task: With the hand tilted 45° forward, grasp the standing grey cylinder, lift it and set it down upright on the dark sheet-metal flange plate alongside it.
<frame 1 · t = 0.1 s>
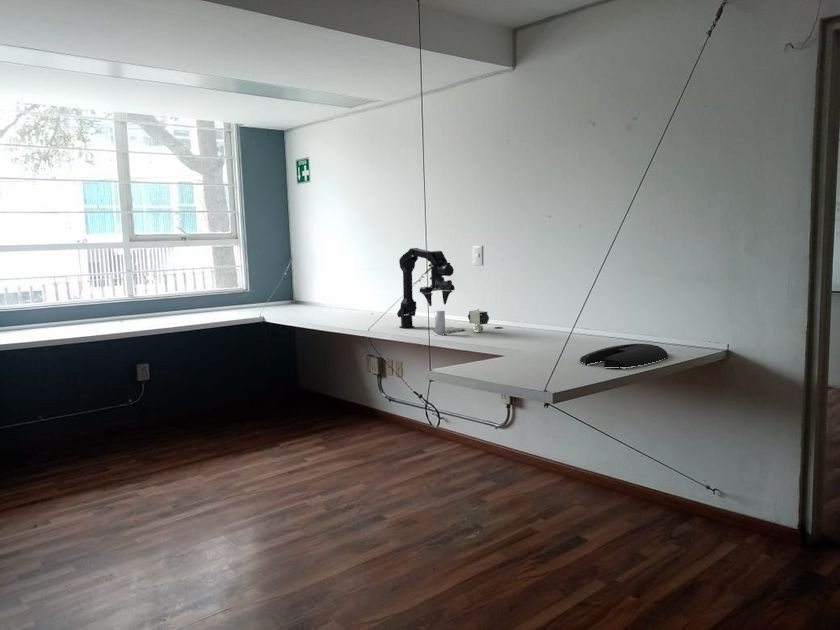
hand: (437, 305, 354), 14 cm above the counter, tool pointing down, fingers open, 9 cm apart
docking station: (627, 360, 271), on the counter
flange plate: (449, 330, 360), on the counter
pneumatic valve: (479, 332, 352), on the counter
grey cylinder: (440, 334, 349), on the counter
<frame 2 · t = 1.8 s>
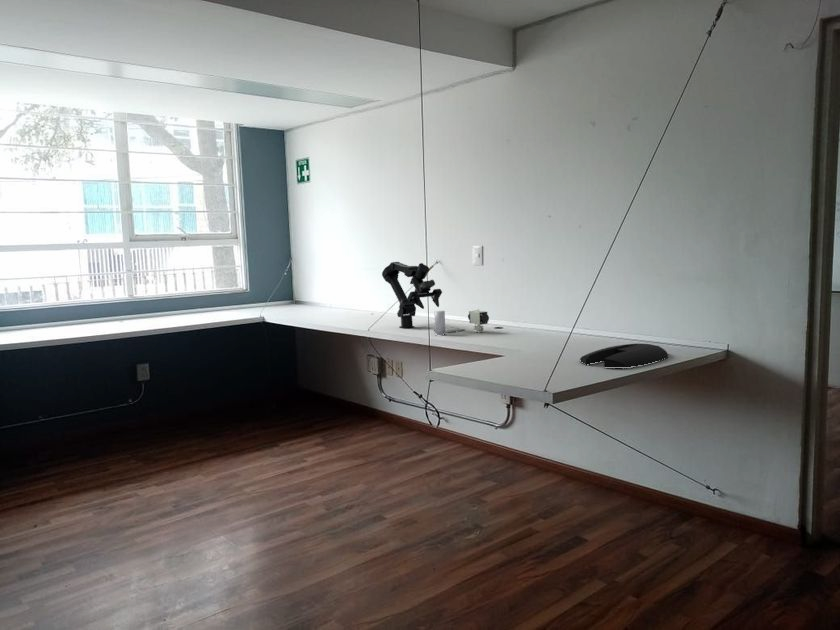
hand: (431, 307, 354), 13 cm above the counter, tool tilted 45°, fingers open, 9 cm apart
nothing on the counter moved.
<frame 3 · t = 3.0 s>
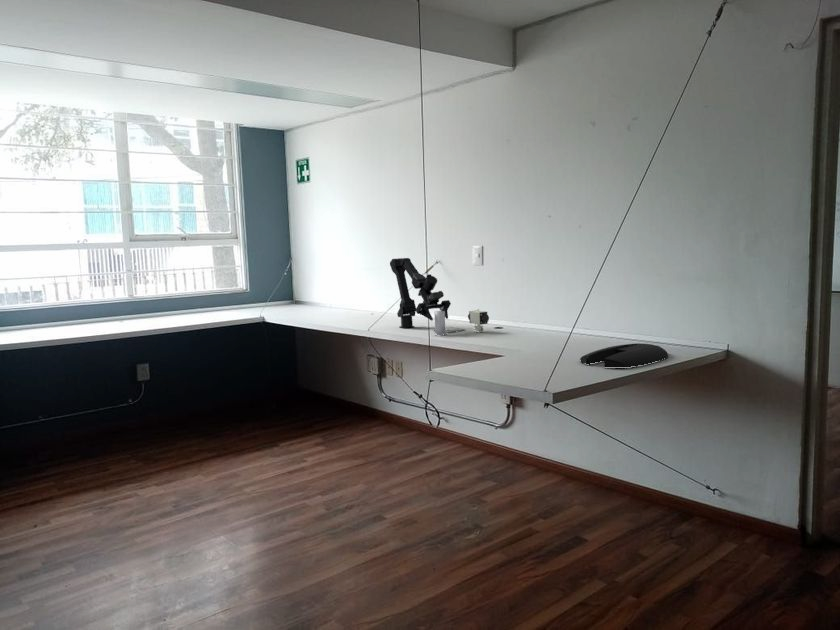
hand: (439, 319, 348), 8 cm above the counter, tool tilted 45°, fingers open, 9 cm apart
nothing on the counter moved.
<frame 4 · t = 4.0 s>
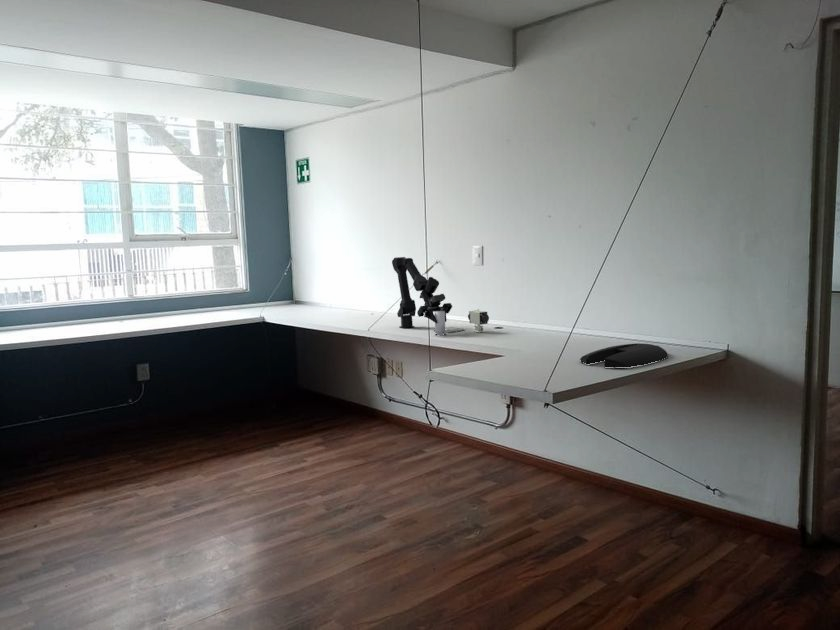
hand: (441, 322, 347), 7 cm above the counter, tool tilted 45°, fingers closed on grey cylinder, 5 cm apart
grey cylinder: (440, 334, 349), on the counter, touching gripper
everything else where it was.
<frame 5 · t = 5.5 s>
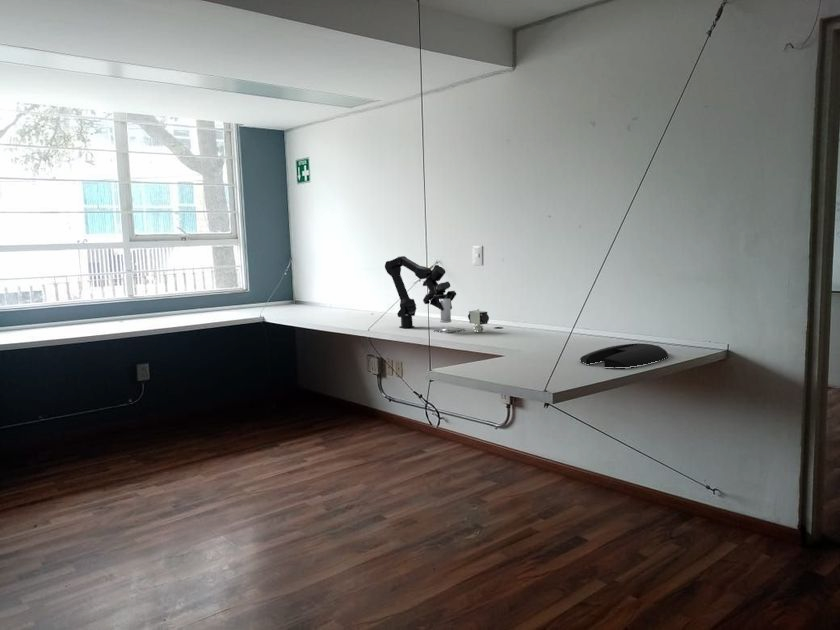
hand: (447, 309, 352), 12 cm above the counter, tool tilted 45°, fingers closed on grey cylinder, 5 cm apart
grey cylinder: (445, 321, 354), point 6 cm above the counter, touching gripper
everything else where it was.
when the fingers open (9 cm above the counter, at t = 7.0 s): grey cylinder drops 1 cm, resting on flange plate.
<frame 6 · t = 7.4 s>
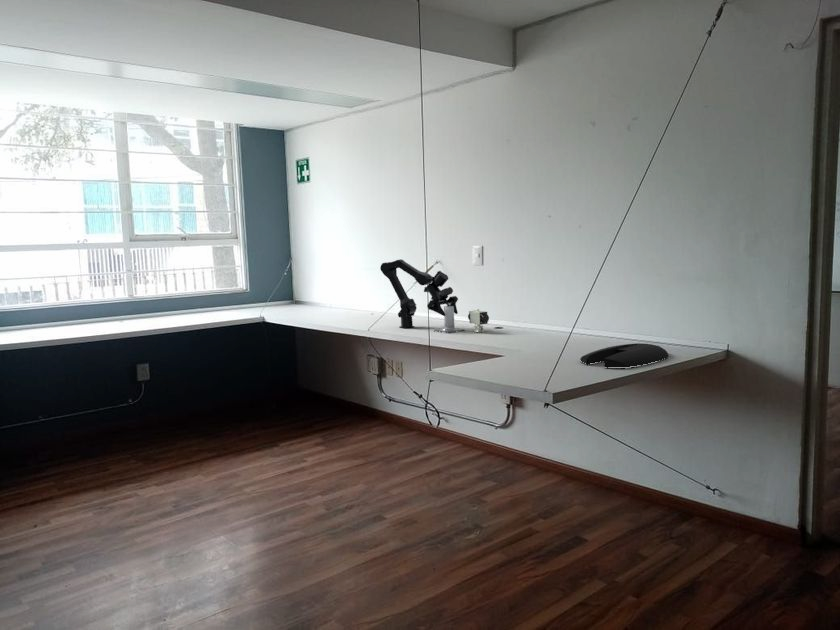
hand: (451, 314, 358), 9 cm above the counter, tool tilted 45°, fingers open, 9 cm apart
grey cylinder: (449, 329, 360), point 1 cm above the counter, touching flange plate
everything else where it was.
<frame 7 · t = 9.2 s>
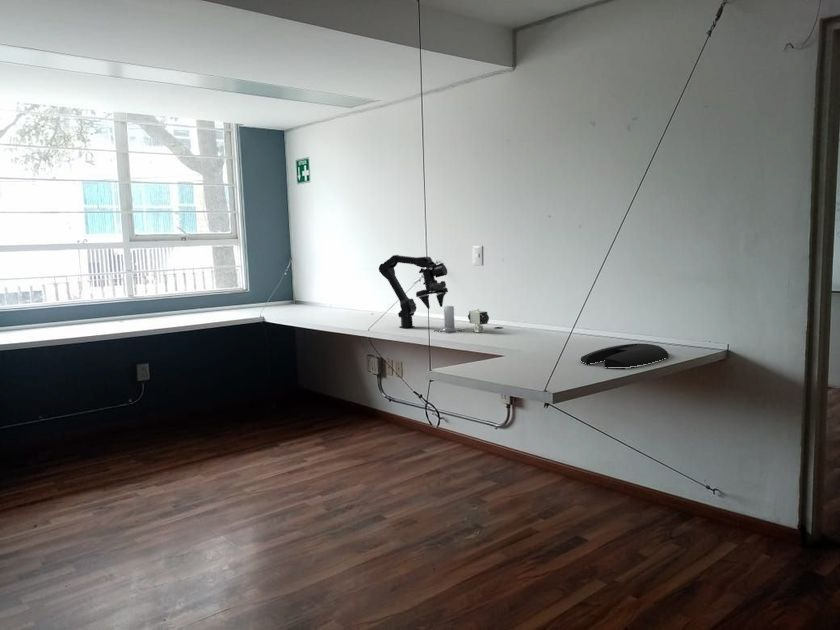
hand: (435, 307, 366), 12 cm above the counter, tool pointing down, fingers open, 9 cm apart
nothing on the counter moved.
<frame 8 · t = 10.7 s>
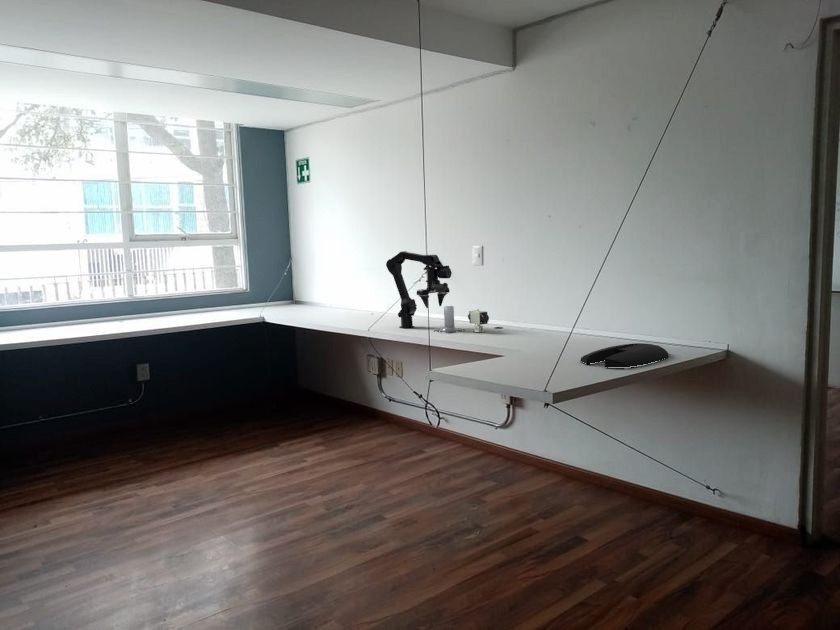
hand: (433, 307, 367), 12 cm above the counter, tool pointing down, fingers open, 9 cm apart
nothing on the counter moved.
at the end: grey cylinder 0.4 cm from the flange plate (horizontally); grey cylinder tilted 0°; grey cylinder point 1.0 cm above the counter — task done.
